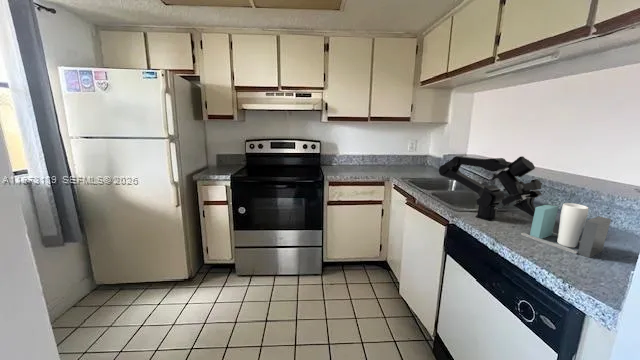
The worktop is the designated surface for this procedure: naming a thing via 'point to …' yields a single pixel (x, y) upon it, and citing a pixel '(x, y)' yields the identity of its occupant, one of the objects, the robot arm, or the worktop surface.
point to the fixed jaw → (586, 237)
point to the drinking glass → (571, 224)
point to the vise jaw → (544, 221)
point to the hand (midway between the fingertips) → (535, 216)
